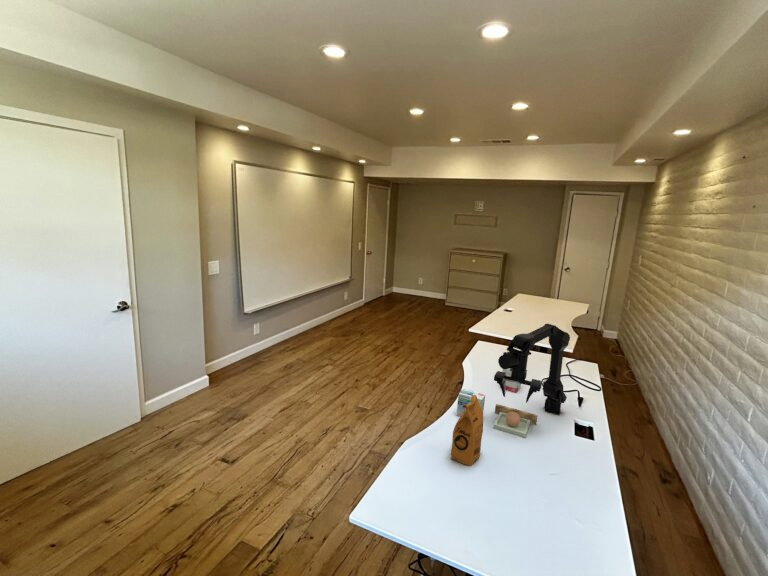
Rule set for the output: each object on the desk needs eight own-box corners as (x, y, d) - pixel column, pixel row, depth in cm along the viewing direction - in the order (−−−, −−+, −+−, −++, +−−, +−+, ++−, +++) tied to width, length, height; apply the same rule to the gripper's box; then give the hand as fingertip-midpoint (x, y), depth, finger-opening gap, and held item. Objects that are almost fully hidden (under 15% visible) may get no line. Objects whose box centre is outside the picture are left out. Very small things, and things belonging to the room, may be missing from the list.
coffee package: (445, 458, 140) (451, 402, 136) (459, 443, 150) (465, 390, 146) (471, 469, 134) (477, 411, 130) (484, 452, 144) (490, 398, 140)
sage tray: (529, 424, 167) (530, 420, 167) (525, 438, 156) (525, 433, 156) (499, 415, 173) (500, 411, 173) (493, 428, 162) (493, 424, 162)
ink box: (515, 393, 197) (518, 371, 195) (499, 388, 202) (502, 367, 200) (521, 388, 204) (523, 367, 202) (505, 383, 209) (507, 363, 207)
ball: (520, 424, 166) (522, 411, 165) (517, 430, 161) (519, 417, 160) (506, 419, 169) (508, 407, 168) (503, 425, 163) (505, 413, 162)
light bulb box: (455, 415, 171) (458, 393, 169) (460, 409, 177) (462, 387, 175) (479, 422, 166) (482, 399, 164) (483, 416, 172) (485, 393, 170)
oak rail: (536, 423, 168) (537, 415, 167) (536, 425, 167) (537, 416, 166) (495, 411, 177) (496, 403, 176) (494, 413, 175) (495, 405, 174)
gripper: (545, 364, 164) (540, 397, 167) (500, 354, 172) (497, 387, 175) (542, 372, 154) (537, 408, 157) (495, 362, 163) (491, 396, 165)
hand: (515, 399), depth 164 cm, fingers open, 9 cm apart
